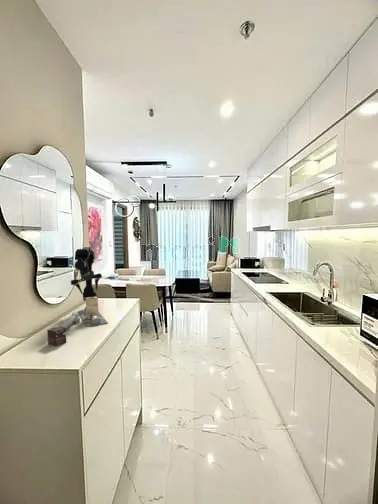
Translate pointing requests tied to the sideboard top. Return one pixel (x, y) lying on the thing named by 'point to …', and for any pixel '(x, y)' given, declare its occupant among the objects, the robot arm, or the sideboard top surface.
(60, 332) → the box
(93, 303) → the notched wooden block
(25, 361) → the sideboard top surface
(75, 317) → the grey flashlight
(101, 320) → the grey board
